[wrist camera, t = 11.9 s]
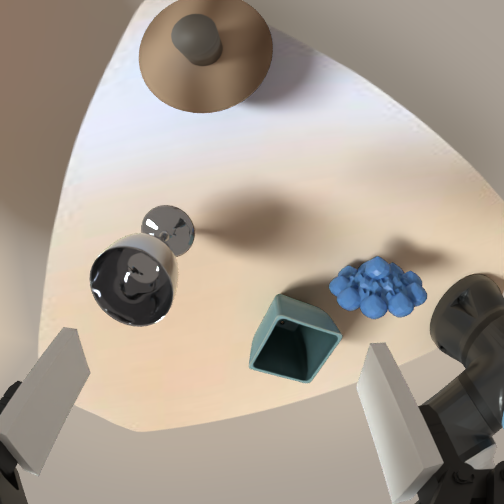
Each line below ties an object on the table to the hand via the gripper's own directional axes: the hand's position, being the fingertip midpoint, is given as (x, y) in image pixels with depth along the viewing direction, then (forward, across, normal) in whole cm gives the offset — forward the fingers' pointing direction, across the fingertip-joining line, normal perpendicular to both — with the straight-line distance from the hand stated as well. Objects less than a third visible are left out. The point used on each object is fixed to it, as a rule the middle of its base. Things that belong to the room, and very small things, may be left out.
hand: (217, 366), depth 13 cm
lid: (+22, +4, -18) cm, 28 cm away
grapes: (+29, -17, +7) cm, 34 cm away
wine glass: (+28, +9, +4) cm, 30 cm away
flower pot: (+29, -7, +15) cm, 33 cm away
